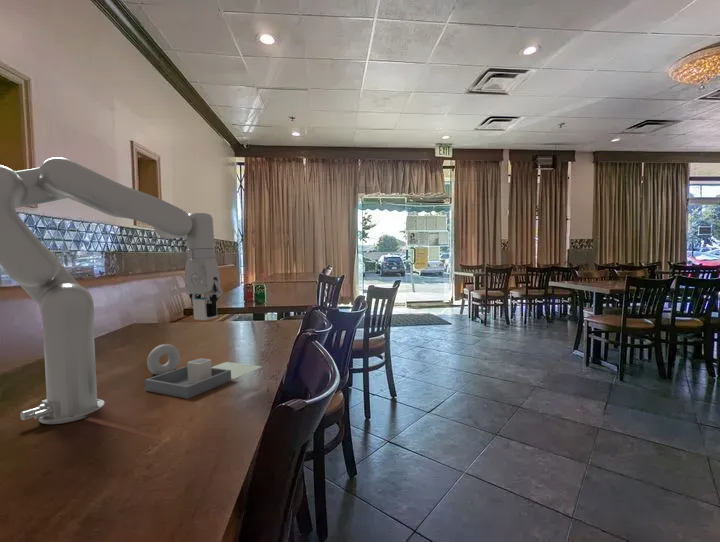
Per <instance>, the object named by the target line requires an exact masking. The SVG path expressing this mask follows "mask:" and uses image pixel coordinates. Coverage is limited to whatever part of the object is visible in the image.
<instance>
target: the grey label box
mask: <svg viewBox="0 0 720 542" xmlns="http://www.w3.org/2000/svg"><path fill="white" fill-rule="evenodd" d="M186 364H187V365H186V366H187V370H188V383H193V384H194V383H196V382H199V381H202V380H204V379H207V378H209V377H212V367H213V366H212V359H209V358H196V359H193V360H190V361H188V362H187V361H186Z"/></svg>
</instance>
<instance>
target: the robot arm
mask: <svg viewBox="0 0 720 542" xmlns="http://www.w3.org/2000/svg"><path fill="white" fill-rule="evenodd" d="M64 199H70V200H72V201H74V202H77V203H80V204H82V205H84V206H87V207H89V208H91V209H94V210H95V211H96V210H97V211H99V212H101V213H103V214H105V215H108V216H112V217H114V218H121V219H127V220H129V219H130V220H132V221H137V222H140V223H143V224H145V225H149V226H150V227H153V230H154V231H155V233H156V235H158V236H159V237H161V238H163V239H167V240H174V239H182V238H186V251H187V253H186V255H187V260H186V262H185V268H184V270H185V271H184V285H185V286H184V288H185V293H186V295H188V296H189V299H191V303H192V304H193V299H197V298H203V295H205V297H206V298H207V302H208V304H206V307H207V317H213V316H216V315H217V316H218V307H217V308H216V302H217V303H218V301H219V299H220V297H221V296H222V295H223V293H224V290H223V289H222V287H221V278H220V271H219V265H218V261H217V259H216V249H215V235H214V233H215V231H214V219H213V215H211V214H209V213H206V212H192V213H188V212H187V211H185V210H184V209H182V208H180V207H178V206H177V205H176V206H175V205H174V204H172V203H169V202H167V201H166V200H163V199H161V198H159V197H156V196H154V195H151V194H149V193H146V192H142V191H140V190H137V189H134V188H132V187H128V186H126V185H123V184H122V183H120V182H116V181H114V180H113V179H110V178H108V177H107V176H104V175H102V174H100V173H98V172H95V171H93V170H91V169H89V168H87V167H86V166H83V165H81V164H79V163H77V162H75V161H72V160H71V159H68V158H65V157H59V156H57V157H56V156H55V157H50V158H48V159H46V160H45V161H43V162H42V164H41V165H40V166H39V167H36V168H31V169H22V170H17V171H16V170H13V169H11V168H9V167H8V166H4V165H2V164H0V266H1V267H2V268H3V269H4V270H5V272H6V273H7V275H8V277H9V278H11V280H13V281H14V282H15V283H17V284H18V285H19V286H20V287H21V288H22V289H23V290H24V291H25V292H26V293H27V294H28V296H29V297H31V299H33V301H35V303H36V304H38V306H39V307H40V308H41V320H42V321H41V322H42V333H43V334H42V337H43V354H44V370H45V371H44V372H45V389H46V394H45V395H46V398H45V399H43V400H41V404H38V405H37V406H36V407H35V408H29V409H26V410H23V411H21V412H20V419H21V420H22V421H25V420H28V419H32V418H34V420H37V419H38V422H39V423H41V424H44V425H59V424H67V423H72V422H75V421H80V420H83V419H86V418H89V417H90V415H88V414H91V413H94V412H97V411H98V410H99V409H102V408H103V407H104V406H105V404H106V402H105V401H104V400H103V399H99V398H98V392H97V388H98V387H97V375H96V374H97V373H96V372H97V369H96V350H95V349H96V348H95V333H94V332H95V331H94V330H95V329H94V327H95V325H94V324H95V323H94V322H95V303H94V299H93V296H92V294H91V293H90V292H89V290H88V289H86V288H85V287H84V286H82V285H80V283H79V282H78V281H77V280H76V279H75V278H74V277H73V275H71V273H70V272H69V271H68V270H67V269H66V267H65V266H63V264H62V263H61V262H60V261H59V258H58V256H56V255H55V253H54V252H52V251H51V250H50V249H48V247H46V245H44V243H42V242H41V241H40V240H39V238H38V236H36V235H35V234H34V233H33V232H32V230H31V229H30V228H29V226H28V225H27V224H26V223H25V221H24V220H23V219H22V218H21V217H20V216H19V214H18V212H17V210H16V209H21V208H25V207H29V206H35V205H40V204H46V203H52V202H55V201H60V200H64Z"/></svg>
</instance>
